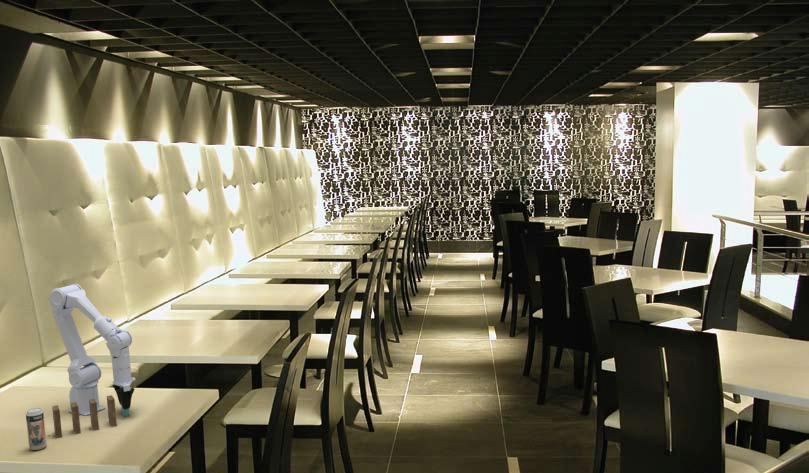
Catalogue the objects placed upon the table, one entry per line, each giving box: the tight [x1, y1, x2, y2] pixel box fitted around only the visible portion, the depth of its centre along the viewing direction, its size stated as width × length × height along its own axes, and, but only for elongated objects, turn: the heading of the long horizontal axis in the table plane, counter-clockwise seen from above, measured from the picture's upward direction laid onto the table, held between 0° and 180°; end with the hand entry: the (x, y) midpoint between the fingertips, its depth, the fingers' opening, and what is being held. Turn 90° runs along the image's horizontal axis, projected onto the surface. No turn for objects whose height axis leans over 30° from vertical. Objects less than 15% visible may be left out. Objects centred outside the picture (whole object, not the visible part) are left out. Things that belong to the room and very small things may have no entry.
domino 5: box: [120, 387, 130, 417], centre depth 266 cm, size 2×5×9 cm, turn 30°
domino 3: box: [89, 399, 100, 431], centre depth 253 cm, size 2×5×9 cm, turn 30°
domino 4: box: [106, 394, 118, 428], centre depth 256 cm, size 2×5×9 cm, turn 30°
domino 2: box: [70, 402, 81, 435], centre depth 251 cm, size 2×5×9 cm, turn 30°
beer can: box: [25, 407, 48, 452], centre depth 237 cm, size 5×5×12 cm
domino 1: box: [51, 404, 63, 439], centre depth 248 cm, size 2×5×9 cm, turn 30°
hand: (124, 406), depth 266 cm, fingers closed on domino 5, 5 cm apart
